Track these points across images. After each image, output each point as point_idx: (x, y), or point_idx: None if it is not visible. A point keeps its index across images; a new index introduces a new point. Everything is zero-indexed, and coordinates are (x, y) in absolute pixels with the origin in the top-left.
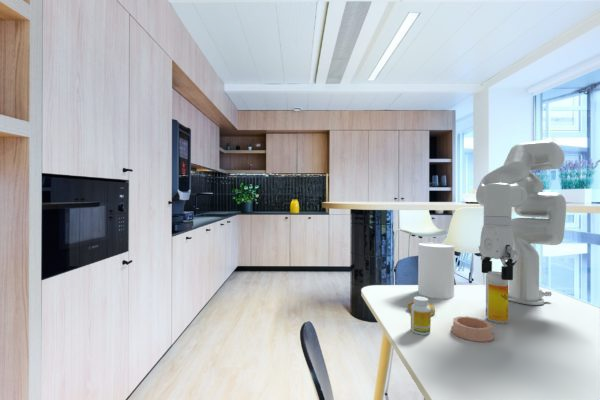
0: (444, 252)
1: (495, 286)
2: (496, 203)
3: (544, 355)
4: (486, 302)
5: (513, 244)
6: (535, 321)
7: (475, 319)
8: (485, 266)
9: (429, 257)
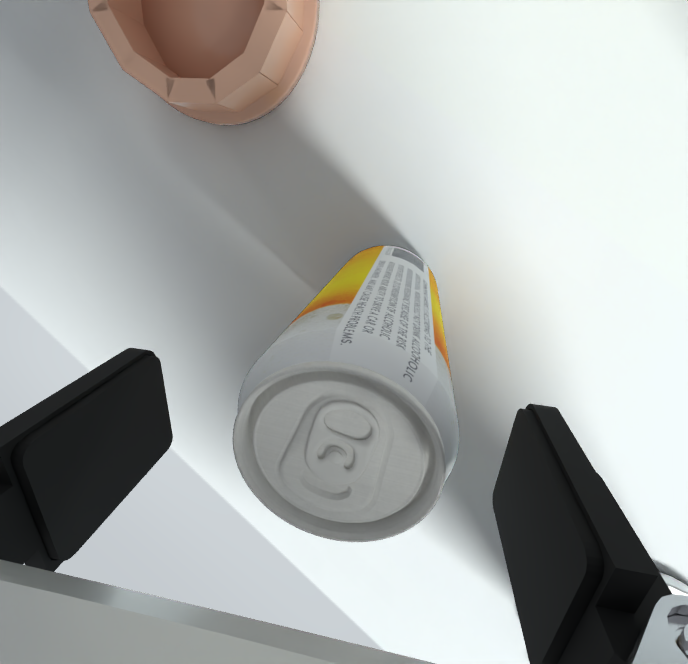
0: None
1: (292, 323)
2: None
3: (55, 209)
4: (396, 264)
5: None
6: None
7: (246, 52)
8: (540, 503)
9: None
